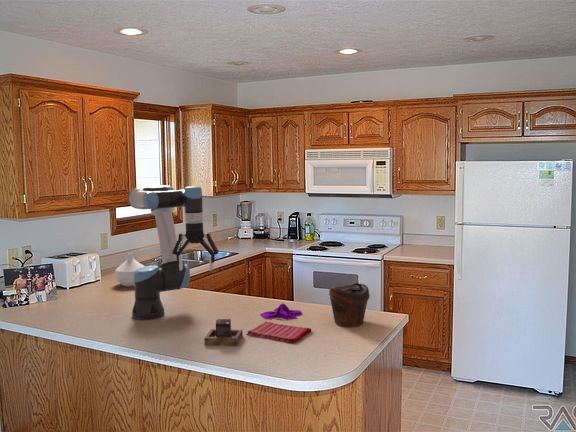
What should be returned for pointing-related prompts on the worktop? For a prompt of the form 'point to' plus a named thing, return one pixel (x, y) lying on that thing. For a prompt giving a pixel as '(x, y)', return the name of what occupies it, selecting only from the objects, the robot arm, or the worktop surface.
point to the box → (223, 328)
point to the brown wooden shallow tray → (223, 338)
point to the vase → (127, 271)
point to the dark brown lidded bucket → (349, 304)
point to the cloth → (281, 313)
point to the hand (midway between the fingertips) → (196, 269)
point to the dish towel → (279, 332)
